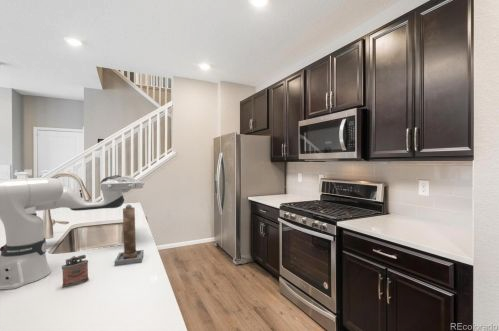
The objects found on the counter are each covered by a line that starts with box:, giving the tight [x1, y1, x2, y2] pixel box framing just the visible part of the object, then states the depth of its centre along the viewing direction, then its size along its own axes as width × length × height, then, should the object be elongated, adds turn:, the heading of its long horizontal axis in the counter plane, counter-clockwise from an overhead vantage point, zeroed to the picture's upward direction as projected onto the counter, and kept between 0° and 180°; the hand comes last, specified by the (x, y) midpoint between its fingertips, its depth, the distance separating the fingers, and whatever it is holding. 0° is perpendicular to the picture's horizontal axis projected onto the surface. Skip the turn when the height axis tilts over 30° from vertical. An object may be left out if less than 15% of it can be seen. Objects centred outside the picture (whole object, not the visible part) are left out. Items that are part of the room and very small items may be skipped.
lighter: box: [61, 254, 90, 289], centre depth 93 cm, size 8×3×10 cm, turn 131°
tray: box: [113, 249, 144, 267], centre depth 114 cm, size 11×11×2 cm
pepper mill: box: [122, 204, 138, 260], centre depth 114 cm, size 6×6×25 cm
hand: (120, 186), depth 126 cm, fingers open, 8 cm apart
